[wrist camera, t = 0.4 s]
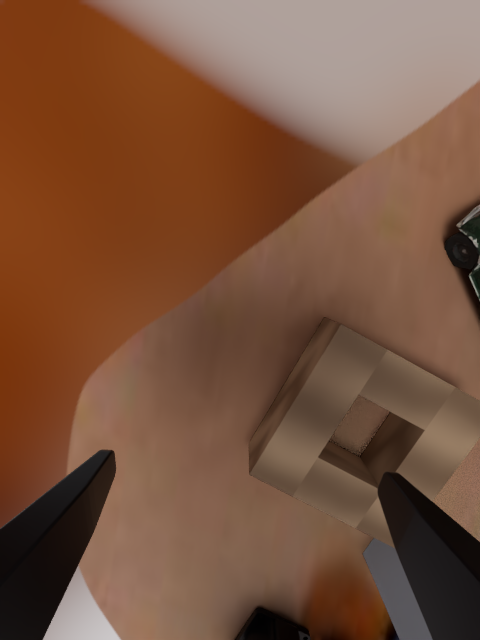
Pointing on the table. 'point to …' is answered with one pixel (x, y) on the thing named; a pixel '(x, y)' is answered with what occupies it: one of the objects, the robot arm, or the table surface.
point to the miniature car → (467, 247)
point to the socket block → (386, 446)
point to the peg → (396, 591)
